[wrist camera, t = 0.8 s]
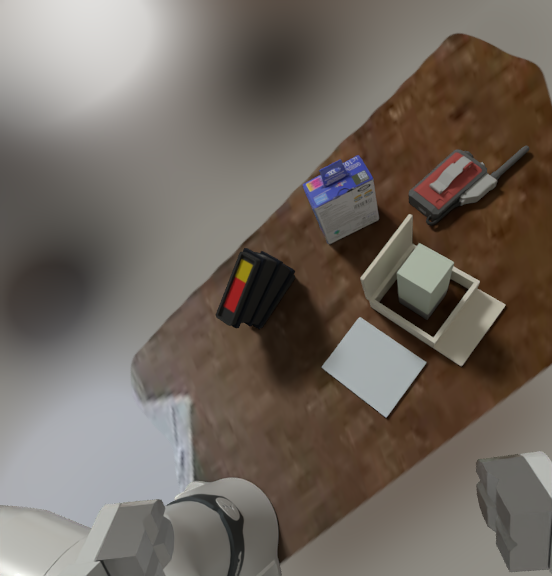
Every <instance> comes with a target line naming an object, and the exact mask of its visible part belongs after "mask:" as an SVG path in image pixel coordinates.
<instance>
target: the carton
mask: <svg viewBox="0 0 552 576" xmlns="http://www.w3.org/2000/svg"><path fill="white" fill-rule="evenodd" d="M412 217H413V216H412V215H410V214H409V215H408V216H407V218H406V219H405V220H404V222H403V223H402V224H401V225H400V227H399V228H398V229H397V231H396V232H395V233H394V235H393V236H392V237H391V239H390V240H389V241H388V242H387V244H386V245H385V246H384V248H383V249H382V250H381V252H380V253H379V254H378V256H377V257H376V258H375V259H374V261H373V262H372V263H371V265H370V266H369V267H368V269H367V270H366V271H365V273H364V274H363V275H362V276H361V278H360V279H361V283H362V286H363V289H364V293H365V296H366V299H368V300H369V302H370V306H371V307H372V308H373V309H375V310H376V311H378V312H379V313H381V314H382V315H384V316H385V317H387V318H388V319H390V320H391V321H393V322H394V323H396V324H397V325H399V326H400V327H402V328H403V329H405V330H406V331H408V332H409V333H411V334H412V335H414V336H415V337H417V338H418V339H420V340H422V341H423V342H425V343H426V344H428V345H429V346H431V347H432V348H434V349H435V350H437V351H438V352H440V353H441V354H443V355H444V356H446V357H447V358H449V359H450V360H452V361H453V362H455V363H456V364H458V365H459V366H461V367H462V365H463V364H464V362H465V361H466V360H467V358H468V357H469V356H470V354H471V353H472V351H473V350H474V349H475V347H476V346H477V344H478V343H479V342H480V340H481V339H482V337H483V336H484V335H485V333H486V332H487V330H488V329H489V328H490V326H491V325H492V324H493V322H494V321H495V319H496V318H497V317H498V315H499V314H500V312H501V311H502V310H503V308H504V307H505V304H504V303H502V302H500V301H498V300H497V299H495V298H493V297H491V296H489V295H488V294H486V293H484V292H482V291H481V290H479V289H477V287H478V285H479V283H480V281H478V280H477V279H475V278H473V277H471V276H469V275H468V274H466V273H464V272H462V271H461V270H459V269H457V268H455V267H453V269H452V273H451V277H450V279H452V280H454V281H455V282H457V283H459V284H461V285H462V286H464V287H466V288H467V289H469V290H468V291H467V293H466V294H465V295H464V297H463V298H462V299H461V301H460V302H459V303H458V305H457V306H456V308H455V309H454V310H453V312H452V313H451V314H450V316H449V317H448V318H447V320H446V321H445V323H444V324H443V325H442V327H441V328H440V329H439V331H438V332H437V333H436V335H435V336H434V338H433V337H432V336H430V335H429V334H427V333H426V332H424V331H422V330H421V329H419V328H418V327H416V326H415V325H413V324H412V323H410V322H409V321H407V320H405V319H404V318H402V317H401V316H399V315H398V314H396V313H395V312H393V311H392V310H390V309H388V308H387V307H385V306H384V305H382V304H381V303H379V302H380V301H381V299H382V298H383V297H384V295H385V294H386V293H387V291H388V290H389V289H390V287H391V286H392V285H393V283H394V282H395V281H396V279H397V272H398V271H399V269H400V268H401V267H402V265H403V264H404V263H405V261H406V260H407V259H408V257H409V256H410V255H411V253H412V252H413V251H414V249H415V248H416V247H417V246H416V245H414V244H412Z"/></svg>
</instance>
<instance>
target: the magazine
mask: <svg viewBox="0 0 552 576" xmlns="http://www.w3.org/2000/svg"><path fill="white" fill-rule="evenodd" d="M294 273H295V271H294V270H293V269H292V268H290V267H288V266H286V265H285V264H283V262H282V261H280V260H278V259H276V258H274V257H273V256H271V255H269V254H267V253H265V252H263V251H261V253H258V252H253V251H251V250H249V249H248V248H244V250H243V252H240V254H239V256H238V259H237V261H236V264H235V267H234V269H233V272H232V274H231V277H230V279H229V282H228V285H227V287H226V290H225V292H224V295H223V297H222V300H221V303H220V305H219V308H218V310H217V313H216V317H217V318H218V319H220V320H221V321H223V322H224V323H226V324H227V325H229V326H231V325H232V326H233V327H235V328H239V326H240V324H241V323H246V324H247V325H249V326H252V325H253V326H255V327H256V328H258V329H259V330H260V328H262V327H263V326H264V324H265V323H266V321H267V320H268V318H269V317H270V315H271V314H272V312H273V311H274V309H275V308H276V306H277V305H278V303H279V302H280V300H281V299H282V297H283V296H284V294H285V293H286V291H287V290H288V288H289V287H290V285H291V284H292V282H293V281H294V279H295V276H294Z"/></svg>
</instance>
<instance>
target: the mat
mask: <svg viewBox="0 0 552 576" xmlns="http://www.w3.org/2000/svg"><path fill="white" fill-rule="evenodd" d="M426 363H427V362H425V361H424V360H422V359H421V358H419V357H418V356H416V355H415V354H413V353H412V352H410V351H409V350H407V349H406V348H405V347H403V346H402V345H400V344H399V343H397V342H396V341H394V340H393V339H391V338H390V337H388V336H387V335H385V334H384V333H383V332H381V331H380V330H378V329H377V328H375V327H374V326H372V325H371V324H369V323H368V322H366V321H365V320H363V319H362V318H361V317H359V318H358V320H357V321H356V322H355V324H354V325H353V326H352V328H351V329H350V330H349V332H348V333H347V334H346V336H345V337H344V338H343V339H342V341H341V342H340V343H339V345H338V346H337V347H336V349H335V350H334V351H333V353H332V354H331V355H330V357H329V358H328V359H327V361H326V362H325V363H324V365H323V366H322V368H323V369H324V370H325V371H327V372H328V373H329V374H331V375H332V376H333V377H334V378H336V379H337V380H338V381H340V382H341V383H342V384H343V385H345V386H346V387H347V388H349V389H350V390H351V391H352V392H354V393H355V394H356V395H358V396H359V397H360V398H361V399H363V400H364V401H365V402H367V403H368V404H369V405H370V406H372V407H373V408H374V409H376V410H377V411H378V412H379V413H381V414H382V415H383V416H385V417H386V418H387V416H388V415H389V414H390V412H391V411H392V410H393V408H394V407H395V405H396V404H397V403H398V401H399V400H400V399H401V397H402V396H403V394H404V393H405V392H406V390H407V389H408V388H409V386H410V385H411V383H412V382H413V381H414V379H415V378H416V377H417V375H418V374H419V373H420V371H421V370H422V368H423V367H424V366H425V364H426Z"/></svg>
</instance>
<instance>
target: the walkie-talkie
mask: <svg viewBox="0 0 552 576" xmlns="http://www.w3.org/2000/svg"><path fill="white" fill-rule="evenodd" d="M528 151H529V147H528V146H524V147H523V148H522V149H520V150H519V151H518V152H517V153H516V154H515V155H514V156H513V157H511V158H510V159H509V160H508V161H507V162H506V163H505V164H504V165H502V166H501V167H500V168H499V169H498V170H497V171H496V172H493V173H492V174H491V175H489V174H487V168H486V167H485V165H484V164H483V163H480V162H478V161H477V160H475V159H474V158H473V156H472V154H471V153H470V152H468V151H464V152H463V151H462V150H455V151H453V152H452V153H451V154H450V155H449V156H448V157H447V158H446V159H444V160H443V161H442V162H441V163H440V164H439V165H438V166H437V167H435V169H433V171H431V172H430V173H429V174H428V175H427V176H426V177H425V178H423V180H421V181H420V182H419V183H418V184H416V186H414V188H412V189H411V190H410V191H409V203H410V204H411V205H412V206H413V207H415V208H416V209H417V210H418V211H420V212H421V213H422V214H423V215H425V216H426V217H427V219H426V223H427V224H428V225H430V226H432V225H435V224H436V223H437V222H439V221H440V220H441V219H442V218H443V217H444V216H445V215H446V214H447V213H449V212H450V211H451V210H452V209H453V208H455V207H457V206H459V205H461V206H462V205H463V204H469V203H475V202H477V201H479V200H480V199H481V198H482V197H483V196H484V195H485V194H486V193H488V192H489V191H490V190H492V189H493V188H494V187H496V184H497V180H498V179H499V178H500V176H501V175H502V174H503V173H504V172H505V171H506V170H508V169H509V168H510V167H511V166H512V165H513V164H514V163H515V162H516V161H518V160H519V159H520V158H521V157H522V156H523V155H524V154H525V153H526V152H528ZM429 219H430V220H431V221H433V222H430V221H429Z"/></svg>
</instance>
